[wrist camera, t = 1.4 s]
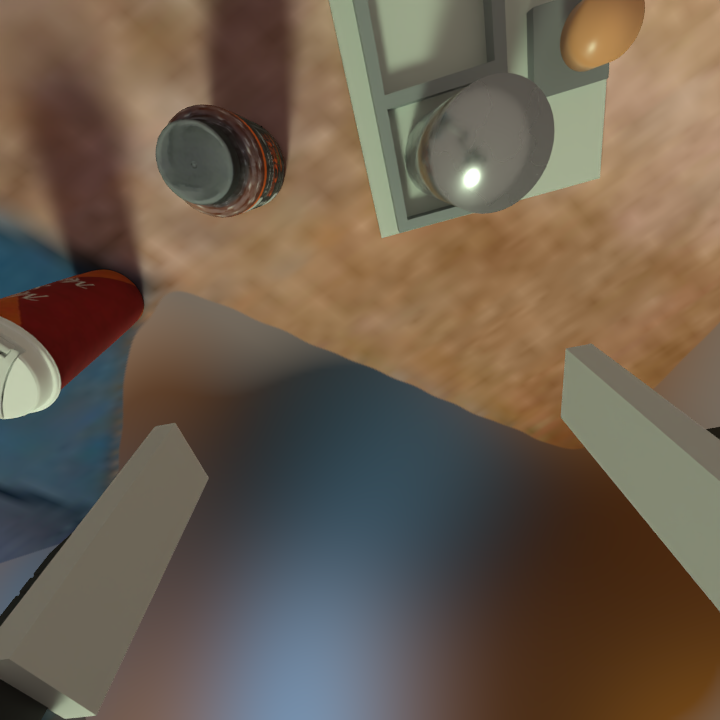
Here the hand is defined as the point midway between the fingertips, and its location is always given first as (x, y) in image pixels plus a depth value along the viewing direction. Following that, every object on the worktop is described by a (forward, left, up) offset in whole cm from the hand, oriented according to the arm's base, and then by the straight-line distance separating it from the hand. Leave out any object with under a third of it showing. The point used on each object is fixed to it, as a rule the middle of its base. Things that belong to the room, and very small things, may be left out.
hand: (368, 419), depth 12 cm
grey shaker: (-6, +8, -22) cm, 24 cm away
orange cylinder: (-10, +17, -19) cm, 28 cm away
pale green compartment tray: (-10, +11, -23) cm, 28 cm away
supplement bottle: (-9, -7, -23) cm, 26 cm away
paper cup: (-2, -24, -23) cm, 33 cm away
